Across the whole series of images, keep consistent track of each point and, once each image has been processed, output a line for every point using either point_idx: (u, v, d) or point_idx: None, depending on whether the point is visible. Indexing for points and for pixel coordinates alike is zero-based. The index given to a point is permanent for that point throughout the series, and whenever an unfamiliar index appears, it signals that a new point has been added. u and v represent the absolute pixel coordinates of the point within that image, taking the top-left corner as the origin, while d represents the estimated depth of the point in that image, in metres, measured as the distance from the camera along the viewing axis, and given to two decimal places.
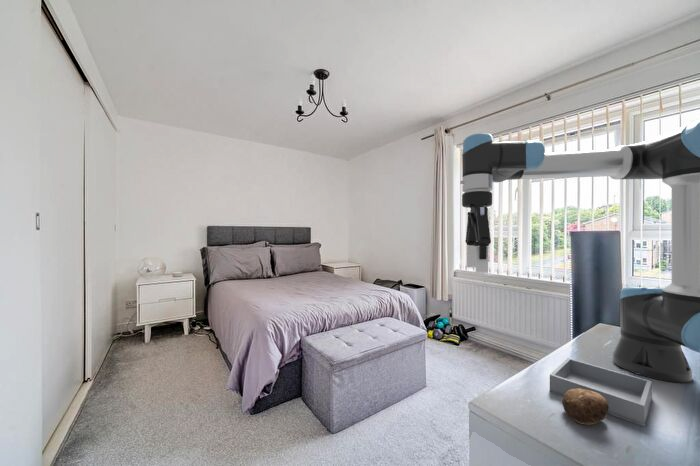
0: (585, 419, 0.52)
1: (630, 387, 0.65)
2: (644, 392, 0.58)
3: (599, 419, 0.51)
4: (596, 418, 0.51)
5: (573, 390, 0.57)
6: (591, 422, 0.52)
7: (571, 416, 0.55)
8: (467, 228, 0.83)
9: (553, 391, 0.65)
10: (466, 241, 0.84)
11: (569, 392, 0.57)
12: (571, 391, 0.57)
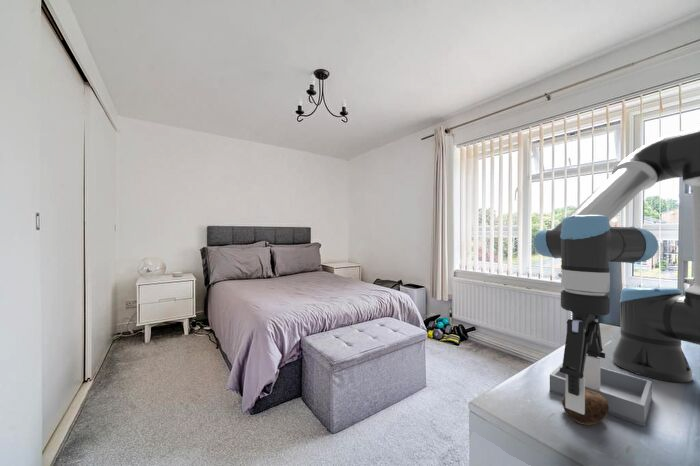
0: (585, 419, 0.52)
1: (630, 387, 0.65)
2: (644, 392, 0.58)
3: (599, 419, 0.51)
4: (596, 418, 0.51)
5: None
6: (591, 422, 0.52)
7: (571, 416, 0.55)
8: None
9: (553, 391, 0.65)
10: None
11: None
12: None
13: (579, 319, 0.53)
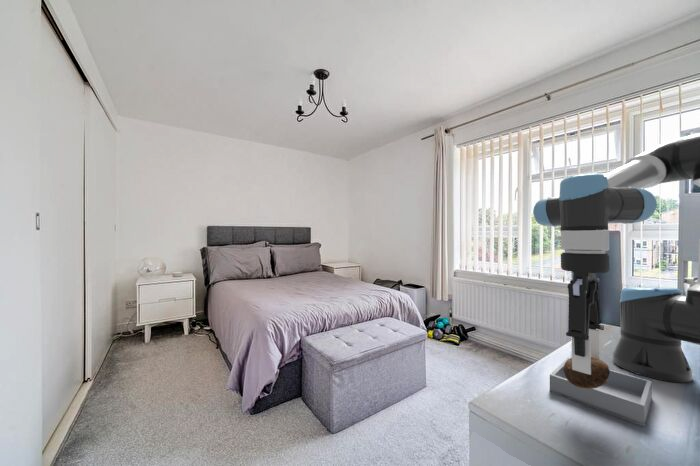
0: (586, 384, 0.53)
1: (630, 387, 0.65)
2: (644, 392, 0.58)
3: (600, 383, 0.52)
4: (597, 382, 0.52)
5: None
6: (592, 386, 0.52)
7: (572, 382, 0.55)
8: None
9: (553, 391, 0.65)
10: None
11: (570, 359, 0.57)
12: None
13: (579, 279, 0.54)
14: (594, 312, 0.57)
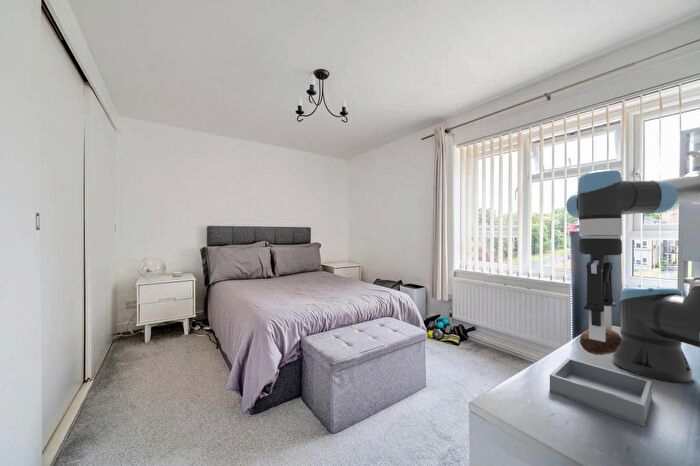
0: (601, 350, 0.61)
1: (630, 387, 0.65)
2: (644, 392, 0.58)
3: (613, 348, 0.60)
4: (611, 347, 0.60)
5: None
6: (606, 352, 0.61)
7: (589, 350, 0.64)
8: None
9: (553, 391, 0.65)
10: None
11: (586, 331, 0.66)
12: (588, 330, 0.66)
13: (596, 260, 0.62)
14: (607, 290, 0.66)
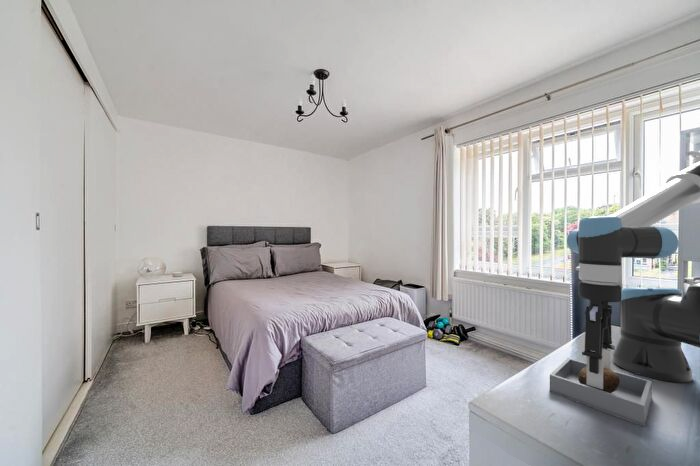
0: None
1: (630, 387, 0.65)
2: (644, 392, 0.58)
3: (612, 390, 0.60)
4: (609, 389, 0.60)
5: None
6: None
7: None
8: None
9: (553, 391, 0.65)
10: None
11: (584, 369, 0.66)
12: (586, 368, 0.66)
13: (595, 307, 0.62)
14: (606, 334, 0.66)
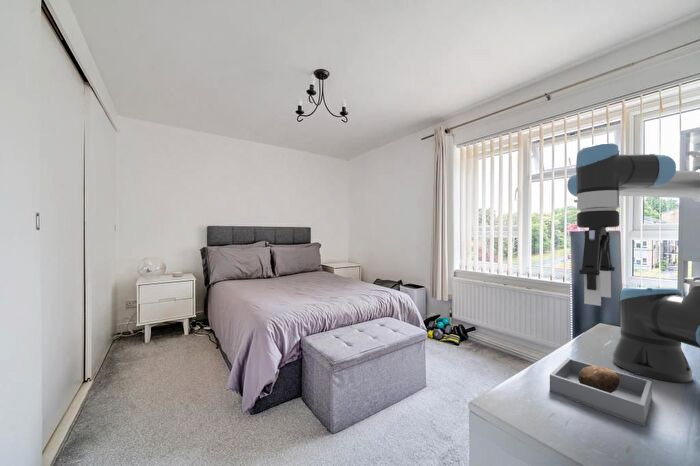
0: None
1: (630, 387, 0.65)
2: (644, 392, 0.58)
3: (612, 390, 0.60)
4: (609, 389, 0.60)
5: (588, 367, 0.66)
6: None
7: None
8: None
9: (553, 391, 0.65)
10: None
11: (584, 369, 0.66)
12: (586, 368, 0.66)
13: None
14: (606, 259, 0.68)
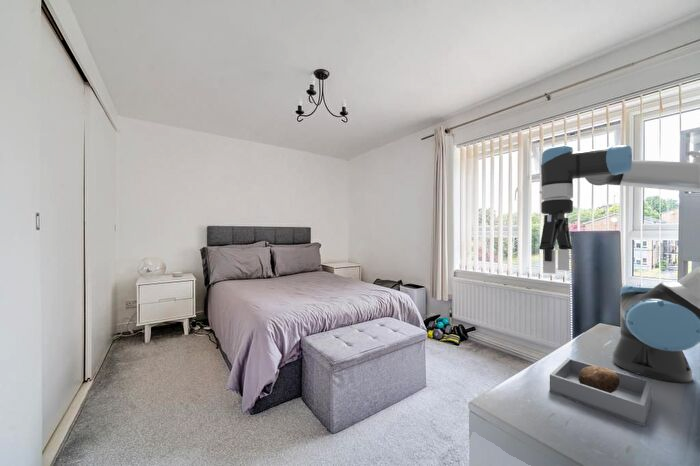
0: None
1: (630, 387, 0.65)
2: (644, 392, 0.58)
3: (612, 390, 0.60)
4: (609, 389, 0.60)
5: (588, 367, 0.66)
6: None
7: None
8: None
9: (553, 391, 0.65)
10: None
11: (584, 369, 0.66)
12: (586, 368, 0.66)
13: None
14: (565, 239, 0.84)
